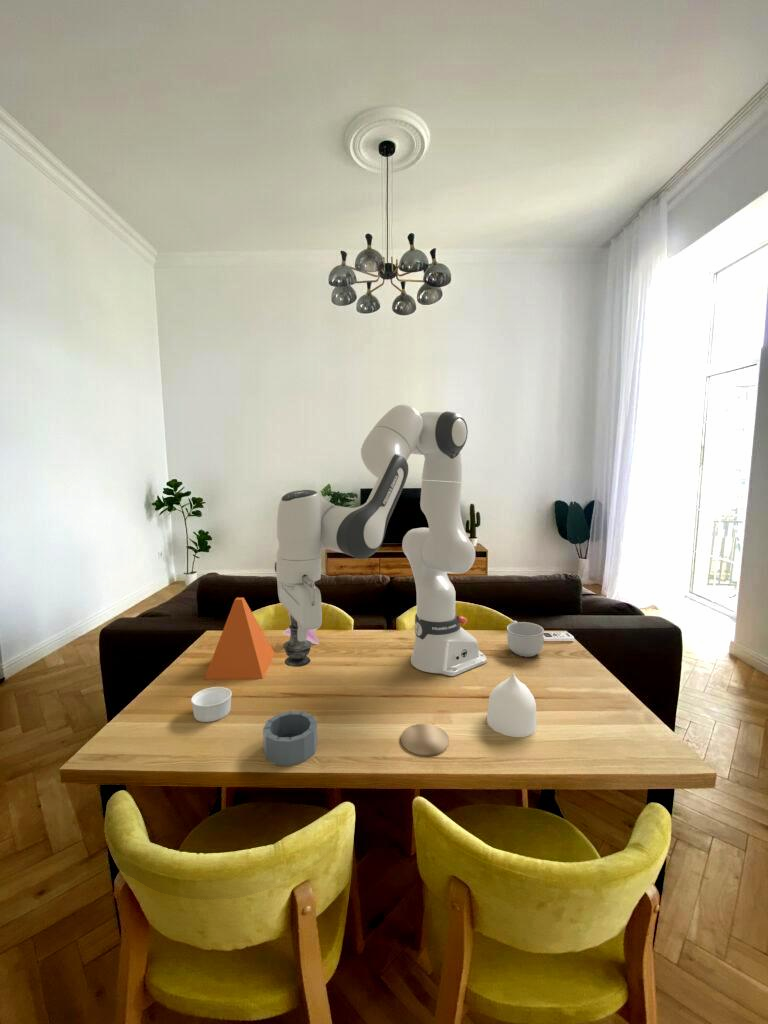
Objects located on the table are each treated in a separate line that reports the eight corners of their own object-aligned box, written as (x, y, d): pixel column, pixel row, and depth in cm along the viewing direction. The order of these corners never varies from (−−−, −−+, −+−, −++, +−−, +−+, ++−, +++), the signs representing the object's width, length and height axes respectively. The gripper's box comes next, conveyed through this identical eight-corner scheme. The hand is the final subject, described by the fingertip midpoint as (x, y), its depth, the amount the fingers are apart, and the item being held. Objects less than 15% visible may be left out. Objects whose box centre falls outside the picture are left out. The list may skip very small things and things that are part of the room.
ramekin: (191, 707, 107) (190, 690, 107) (230, 700, 111) (230, 683, 110) (191, 728, 99) (190, 709, 99) (234, 719, 103) (233, 701, 102)
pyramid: (275, 654, 137) (273, 590, 135) (262, 679, 121) (260, 607, 119) (223, 654, 137) (220, 590, 134) (204, 679, 121) (200, 608, 119)
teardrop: (531, 743, 94) (534, 689, 92) (480, 728, 99) (481, 676, 98) (541, 717, 103) (543, 667, 102) (493, 704, 109) (495, 657, 107)
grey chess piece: (298, 670, 89) (299, 611, 88) (277, 662, 92) (277, 605, 91) (317, 659, 94) (318, 604, 93) (296, 653, 97) (297, 599, 96)
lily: (277, 651, 142) (284, 629, 137) (283, 624, 152) (290, 603, 147) (314, 659, 144) (322, 638, 139) (318, 632, 154) (326, 612, 150)
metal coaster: (432, 722, 101) (432, 719, 101) (458, 747, 92) (458, 744, 92) (392, 733, 97) (392, 731, 97) (416, 761, 88) (416, 758, 88)
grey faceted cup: (307, 728, 99) (307, 706, 98) (323, 755, 90) (322, 732, 89) (259, 741, 94) (259, 718, 94) (270, 771, 85) (270, 747, 84)
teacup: (548, 660, 133) (549, 634, 132) (511, 660, 133) (512, 634, 132) (533, 641, 146) (534, 618, 145) (499, 641, 146) (500, 617, 146)
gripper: (330, 581, 83) (329, 652, 85) (300, 559, 102) (299, 618, 103) (297, 584, 81) (296, 658, 82) (272, 561, 99) (272, 622, 100)
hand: (298, 636), depth 93 cm, fingers closed on grey chess piece, 3 cm apart
